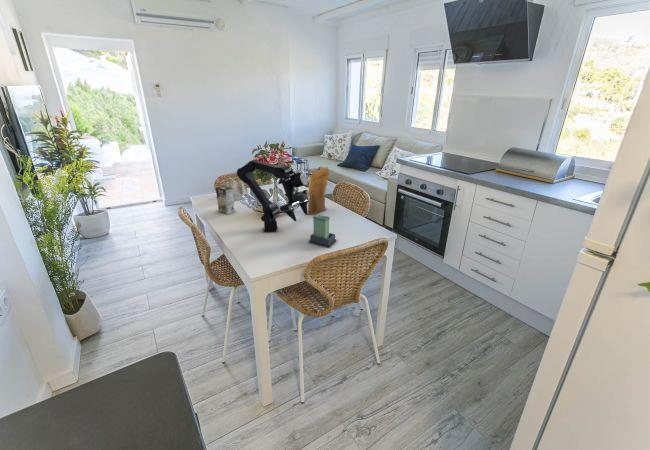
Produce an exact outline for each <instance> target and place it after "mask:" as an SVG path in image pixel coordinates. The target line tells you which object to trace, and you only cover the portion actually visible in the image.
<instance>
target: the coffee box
mask: <svg viewBox="0 0 650 450" xmlns="http://www.w3.org/2000/svg"><path fill="white" fill-rule="evenodd" d="M228 186H229V185H228ZM228 186H226V185H223V184H222V185H220V186H216V187H215V194H216V200H217V208H218V212H219V213H223V214H226V215H230V214H232V213H235V212H236V208H235V200H234V196H233V188H232V187H228Z"/></svg>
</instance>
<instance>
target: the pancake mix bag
mask: <svg viewBox="0 0 650 450" xmlns="http://www.w3.org/2000/svg"><path fill="white" fill-rule="evenodd" d="M328 179H329V167H328V166H326V167H323V168H320V169H318V170H315V171H312V172H311V173H310V177H309V183H308V189H307V190H308V192H309V196H310V199H309V201H308V203H307V215H317V214H318V213H319V214H320V213H321V212H324V211H326V191H327V188H328V187H327V186H328Z"/></svg>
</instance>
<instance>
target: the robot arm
mask: <svg viewBox="0 0 650 450" xmlns="http://www.w3.org/2000/svg"><path fill="white" fill-rule="evenodd" d="M256 170H257V171H261V172H265V173H269V174H272V175H273V176H274V177H275V178H278V179H279V180H278V183H277V184H278V185H282V187H283V191H284V192H285V193H284V197H286V198H287V200H288V201H287V203H283V204H282V205H280V206H278V204H277V202H276V201H273V202H272V201H271V200H270V199H269V197H268V196H267V195H266V193H265V192H264V190H263V189H262V188H261V186H260V184H259V183H258V182H257V180H256V177H255V176H256V175H255V173H254V172H255V171H256ZM236 176H237V178H239V180H240V181H243V184H246V185H247V186H248V188H249V190H250V191H251V192H252V194H253V195H254V196H255V198H256V199H257V200H258V202H259V203H260V205H261V208H262V213H263V214H262V216H261V217H260V219H261V222H263V226H264V227H263V228H264V233H270V232H277V230H278V220H276V219H277V218H279V216H280V213H284V214H286V215H287V216H288V217H289V218H290V219H292V220H293V221H294V222H297V217H296V215H295V207H294V206H295V205H299V207H300V209H301V210H302V212H303V214H304V215H305V216H307V215H308V201H309V199H310V196H309V192H308V190H309V189H303V190H302V191H300V190H299V189H297V188H301V187H303V186H306V185H308V177H307V176H306V174H304V173H303V171H299V172H298V173H297V172H295V171H293V170H292V169H291V168H290V166H289V165H287V164H271V163H268V162H264V161H260V160H258V159H252V160H249V161H248V162H247V163H246V164H244V165H243V166H242V167H239V168H237V170H236Z"/></svg>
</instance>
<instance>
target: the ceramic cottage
mask: <svg viewBox="0 0 650 450" xmlns="http://www.w3.org/2000/svg"><path fill="white" fill-rule="evenodd" d="M225 186H228V187H232V188H233V196H234V201H240V200H242V199H241V197H242V196H243V195H244V194H249V191H248V190H249V189H248V188H247V187H246V186H245V185H244V182H243V181H241V180H240V182H237V181H235V180H234V178H232V179H231V182H229V184H228V183H226V185H225Z"/></svg>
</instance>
